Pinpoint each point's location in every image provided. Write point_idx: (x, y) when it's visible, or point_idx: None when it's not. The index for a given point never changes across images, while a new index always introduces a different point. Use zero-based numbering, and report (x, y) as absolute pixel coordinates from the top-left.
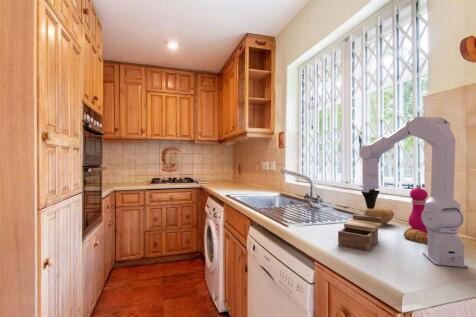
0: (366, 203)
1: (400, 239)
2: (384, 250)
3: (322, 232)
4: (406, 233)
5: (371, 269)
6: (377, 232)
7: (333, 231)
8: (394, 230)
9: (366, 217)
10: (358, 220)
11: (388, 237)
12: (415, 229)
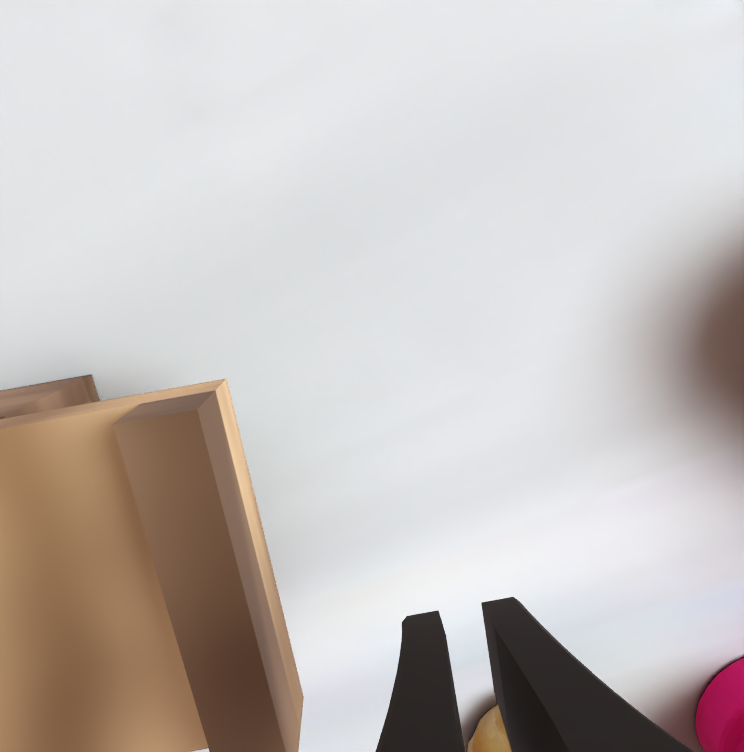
0: (392, 699)
1: None
2: None
3: (5, 27)
4: (505, 749)
5: None
6: None
7: (170, 104)
8: (730, 541)
9: (177, 623)
10: (116, 508)
11: (418, 602)
12: (737, 742)
